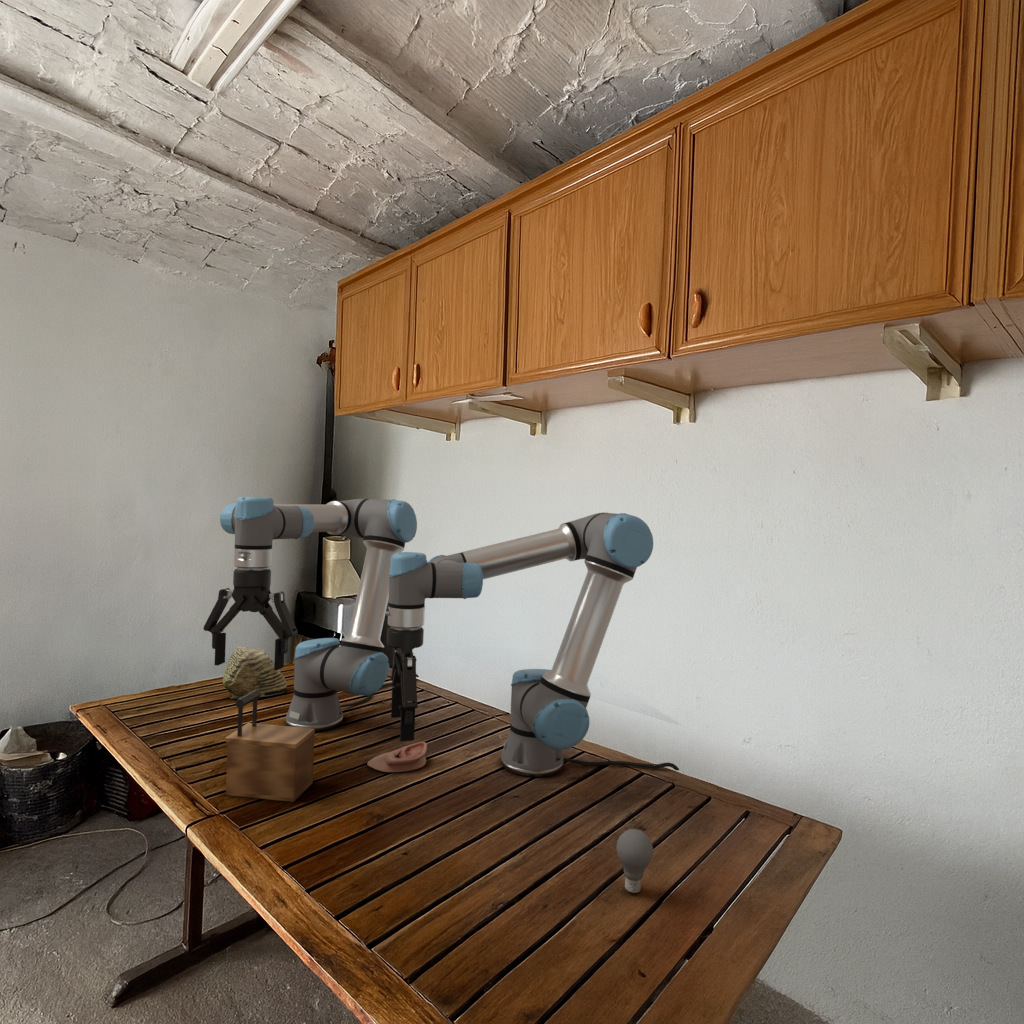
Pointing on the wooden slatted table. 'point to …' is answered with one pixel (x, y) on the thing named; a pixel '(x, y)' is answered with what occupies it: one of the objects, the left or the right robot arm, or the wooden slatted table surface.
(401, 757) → the anatomical model
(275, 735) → the lid
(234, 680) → the fossil
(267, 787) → the chest
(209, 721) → the wooden slatted table surface
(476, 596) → the right robot arm
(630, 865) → the light bulb
